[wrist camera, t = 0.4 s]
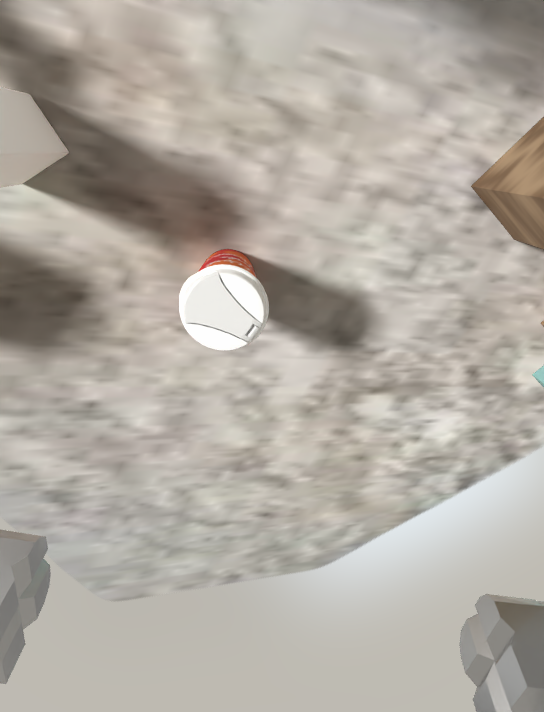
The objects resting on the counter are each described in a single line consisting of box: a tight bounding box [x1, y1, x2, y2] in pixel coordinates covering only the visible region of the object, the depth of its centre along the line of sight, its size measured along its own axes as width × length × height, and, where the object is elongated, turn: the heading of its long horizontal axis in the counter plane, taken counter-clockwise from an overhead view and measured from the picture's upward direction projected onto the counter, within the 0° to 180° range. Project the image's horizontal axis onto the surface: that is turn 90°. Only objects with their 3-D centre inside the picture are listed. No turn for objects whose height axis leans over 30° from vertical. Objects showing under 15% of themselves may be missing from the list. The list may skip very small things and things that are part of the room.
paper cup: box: [179, 249, 269, 350], centre depth 48 cm, size 8×8×14 cm
